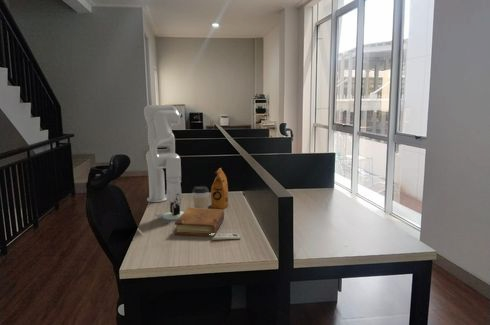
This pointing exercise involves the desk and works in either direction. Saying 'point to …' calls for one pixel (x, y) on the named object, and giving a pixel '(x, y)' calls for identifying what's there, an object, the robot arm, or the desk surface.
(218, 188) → the coffee package
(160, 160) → the robot arm
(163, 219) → the mat
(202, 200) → the coffee cup
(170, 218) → the lid
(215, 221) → the diary
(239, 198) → the desk surface
